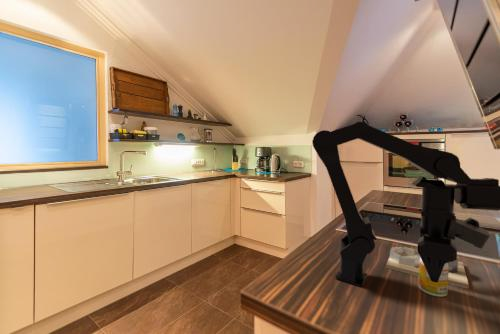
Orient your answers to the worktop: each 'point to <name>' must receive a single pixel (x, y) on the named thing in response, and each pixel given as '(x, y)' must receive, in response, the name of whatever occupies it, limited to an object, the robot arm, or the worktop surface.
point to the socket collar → (396, 256)
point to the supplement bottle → (433, 287)
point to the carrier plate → (453, 278)
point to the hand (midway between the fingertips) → (434, 272)
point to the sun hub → (453, 266)
